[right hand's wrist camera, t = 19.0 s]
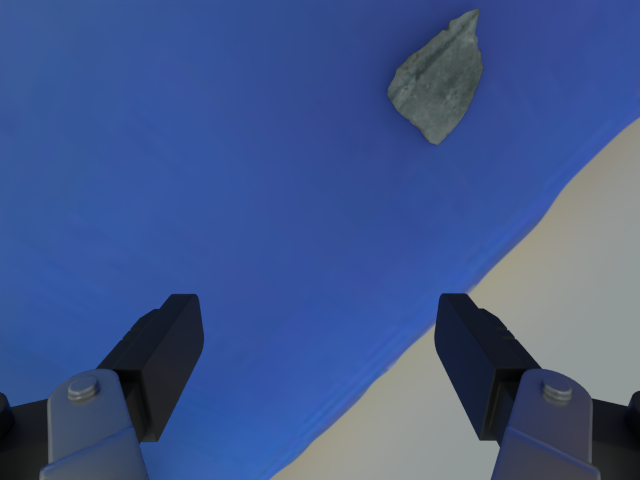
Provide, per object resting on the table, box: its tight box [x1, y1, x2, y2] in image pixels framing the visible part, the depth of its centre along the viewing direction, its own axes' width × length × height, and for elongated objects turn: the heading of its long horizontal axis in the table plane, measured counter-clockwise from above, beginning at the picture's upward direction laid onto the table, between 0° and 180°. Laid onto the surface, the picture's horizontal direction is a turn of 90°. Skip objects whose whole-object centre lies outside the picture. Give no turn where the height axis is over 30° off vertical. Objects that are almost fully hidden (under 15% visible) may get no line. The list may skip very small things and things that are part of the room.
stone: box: [387, 8, 484, 145], centre depth 34 cm, size 11×4×10 cm
